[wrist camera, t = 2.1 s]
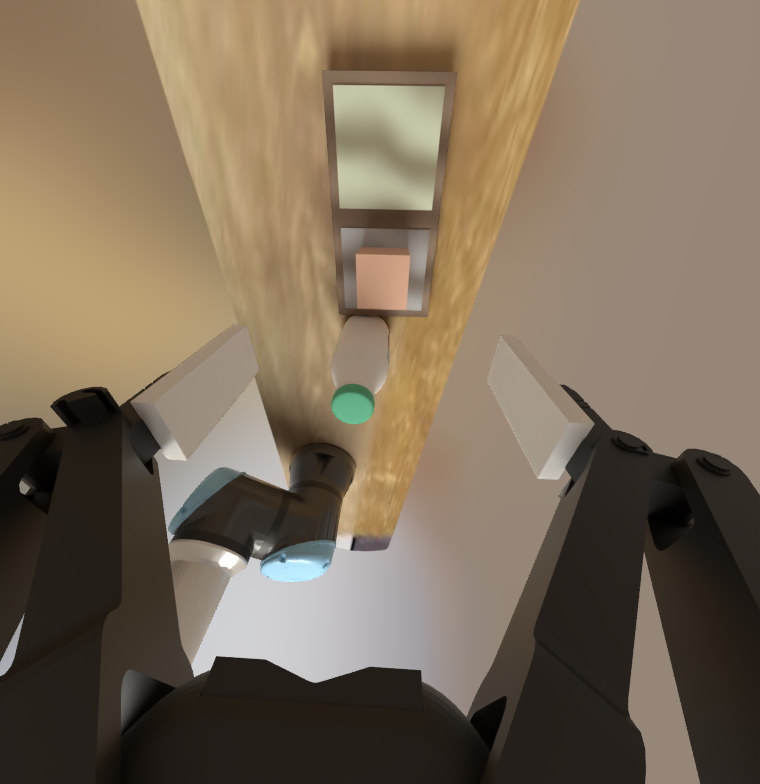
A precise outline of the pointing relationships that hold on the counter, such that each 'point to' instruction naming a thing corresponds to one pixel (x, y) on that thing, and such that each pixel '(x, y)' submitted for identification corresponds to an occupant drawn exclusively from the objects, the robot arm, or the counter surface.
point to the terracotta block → (382, 278)
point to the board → (387, 172)
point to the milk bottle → (359, 367)
